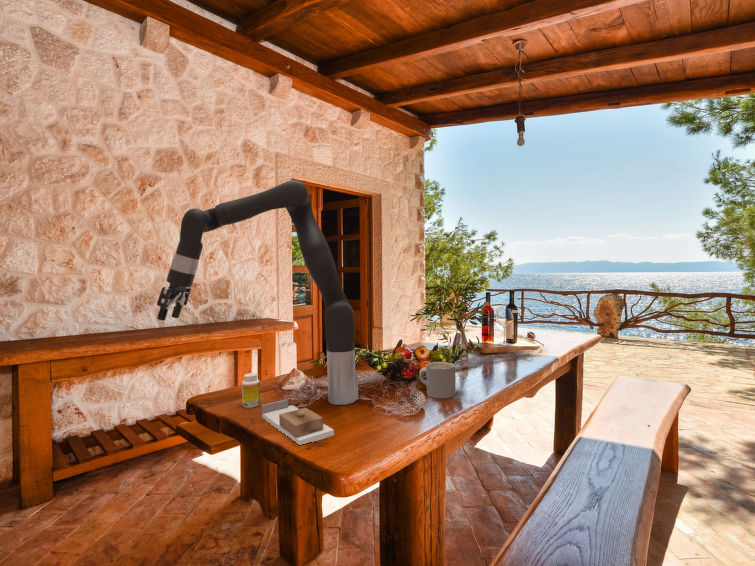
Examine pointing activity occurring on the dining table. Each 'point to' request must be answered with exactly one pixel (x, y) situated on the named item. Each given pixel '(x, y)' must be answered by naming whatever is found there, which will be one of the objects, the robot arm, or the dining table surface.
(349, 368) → the robot arm
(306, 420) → the cover
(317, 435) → the board
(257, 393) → the supplement bottle
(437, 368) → the coffee mug
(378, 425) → the dining table surface
